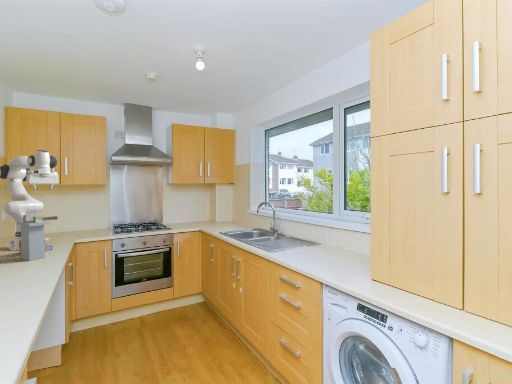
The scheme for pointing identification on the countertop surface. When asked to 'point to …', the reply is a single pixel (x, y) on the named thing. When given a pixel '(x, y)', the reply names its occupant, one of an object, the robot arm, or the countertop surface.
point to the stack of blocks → (46, 242)
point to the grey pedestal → (32, 240)
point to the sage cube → (37, 219)
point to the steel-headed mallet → (30, 217)
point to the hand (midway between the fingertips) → (43, 189)
